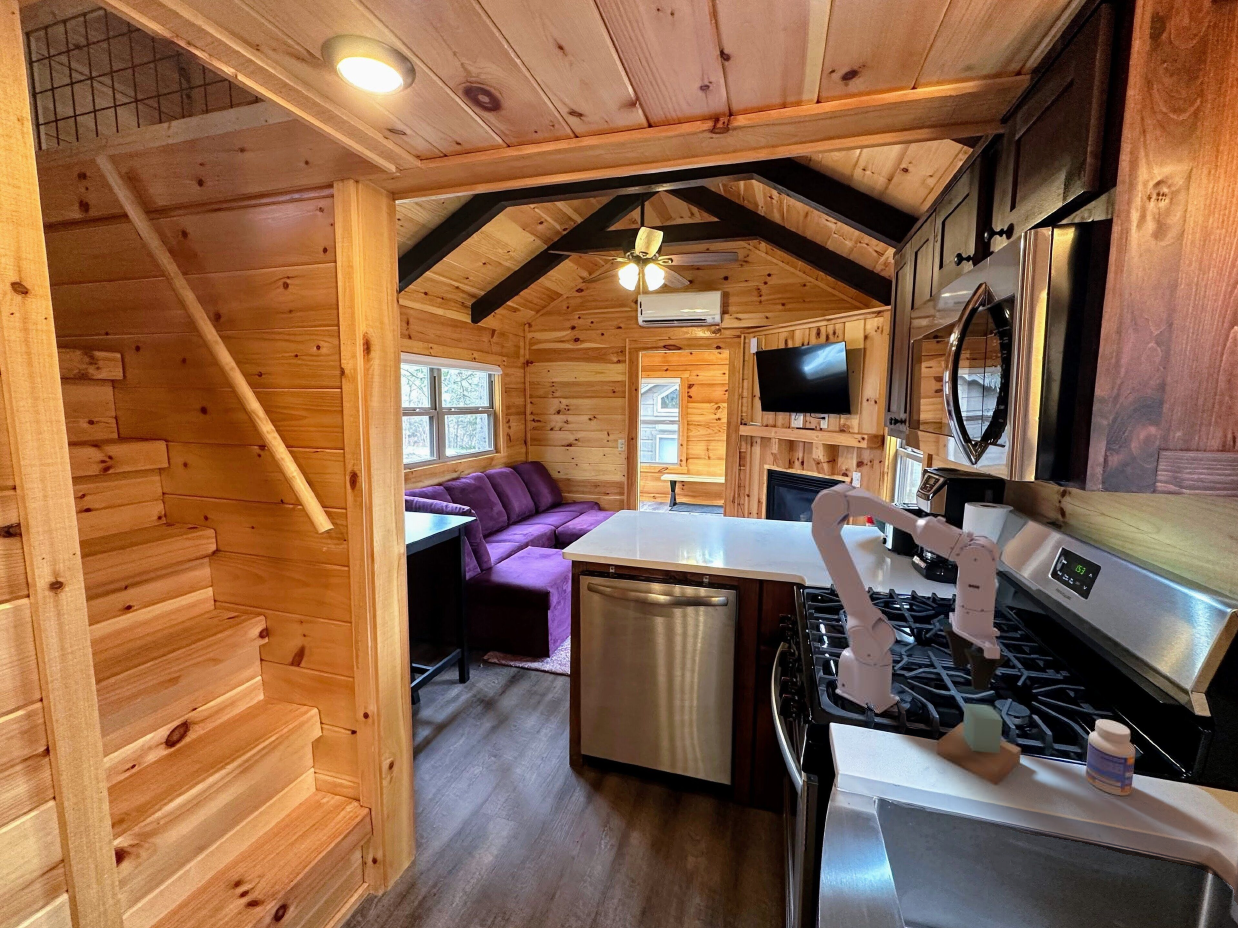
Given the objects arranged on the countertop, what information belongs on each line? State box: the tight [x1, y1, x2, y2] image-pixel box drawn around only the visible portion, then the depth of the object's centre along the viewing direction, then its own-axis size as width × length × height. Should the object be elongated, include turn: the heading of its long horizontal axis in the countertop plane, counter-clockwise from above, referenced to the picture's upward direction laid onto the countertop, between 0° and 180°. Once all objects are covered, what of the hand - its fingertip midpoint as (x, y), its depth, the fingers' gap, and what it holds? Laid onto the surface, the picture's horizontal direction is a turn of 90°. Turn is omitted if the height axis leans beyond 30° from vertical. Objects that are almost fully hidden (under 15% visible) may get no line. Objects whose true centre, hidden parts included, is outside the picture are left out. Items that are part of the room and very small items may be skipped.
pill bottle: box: [1085, 718, 1136, 796], centre depth 84 cm, size 5×5×10 cm
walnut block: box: [936, 721, 1022, 786], centre depth 90 cm, size 9×9×3 cm
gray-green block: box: [963, 702, 1003, 754], centre depth 90 cm, size 4×4×6 cm
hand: (969, 677), depth 97 cm, fingers open, 7 cm apart
